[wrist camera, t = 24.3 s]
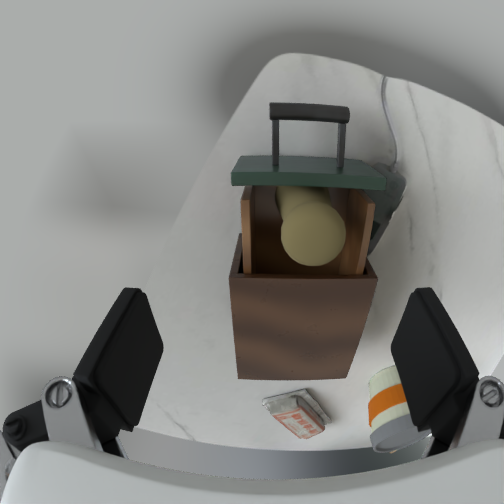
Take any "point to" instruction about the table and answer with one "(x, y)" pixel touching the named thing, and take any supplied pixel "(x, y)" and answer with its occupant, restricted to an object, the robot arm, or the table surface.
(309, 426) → the packaged product
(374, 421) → the reusable coffee cup
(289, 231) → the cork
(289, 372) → the cabinet
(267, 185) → the drawer
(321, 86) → the table surface
